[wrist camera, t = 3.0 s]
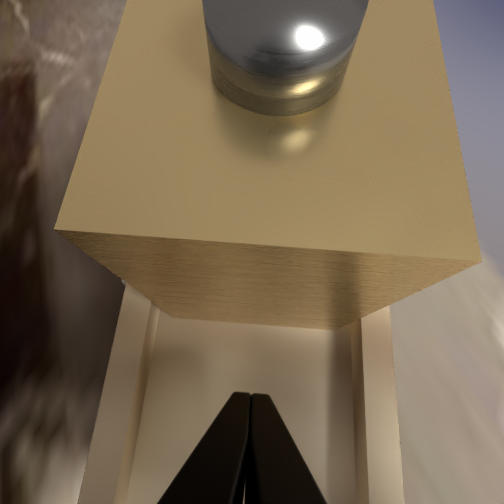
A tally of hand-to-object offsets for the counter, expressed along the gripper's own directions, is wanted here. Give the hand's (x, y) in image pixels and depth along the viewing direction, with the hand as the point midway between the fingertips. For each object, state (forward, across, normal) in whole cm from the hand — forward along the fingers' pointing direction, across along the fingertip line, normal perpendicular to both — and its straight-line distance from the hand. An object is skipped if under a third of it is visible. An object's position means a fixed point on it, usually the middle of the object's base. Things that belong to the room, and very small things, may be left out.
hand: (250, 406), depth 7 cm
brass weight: (+7, 0, -2) cm, 7 cm away
